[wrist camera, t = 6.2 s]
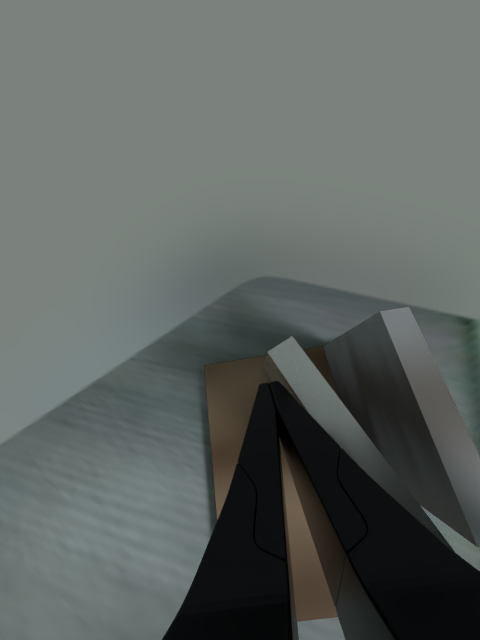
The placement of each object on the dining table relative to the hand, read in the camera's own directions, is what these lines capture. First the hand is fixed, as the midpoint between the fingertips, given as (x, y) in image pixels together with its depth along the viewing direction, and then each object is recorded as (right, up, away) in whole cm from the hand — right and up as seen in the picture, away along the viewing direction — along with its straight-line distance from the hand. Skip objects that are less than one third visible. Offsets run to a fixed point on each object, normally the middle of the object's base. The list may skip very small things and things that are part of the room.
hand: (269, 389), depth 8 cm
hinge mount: (+3, -7, +5) cm, 9 cm away
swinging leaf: (+3, -3, +5) cm, 7 cm away
